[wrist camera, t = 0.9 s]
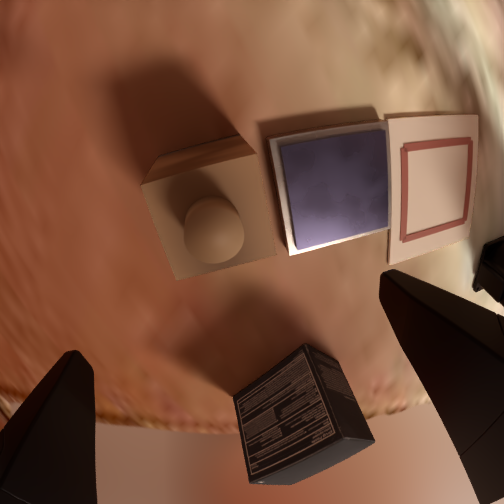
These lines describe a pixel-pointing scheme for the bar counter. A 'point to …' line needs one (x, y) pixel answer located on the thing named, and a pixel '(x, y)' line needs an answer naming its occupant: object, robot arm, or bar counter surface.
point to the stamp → (209, 207)
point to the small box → (299, 419)
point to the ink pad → (332, 183)
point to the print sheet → (431, 182)
